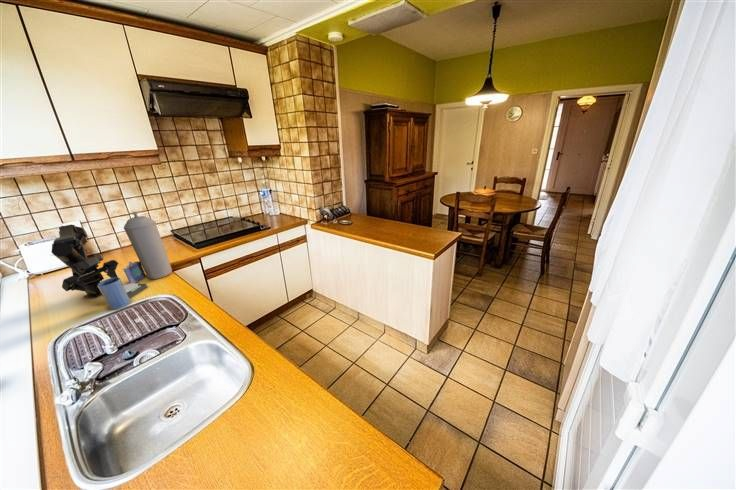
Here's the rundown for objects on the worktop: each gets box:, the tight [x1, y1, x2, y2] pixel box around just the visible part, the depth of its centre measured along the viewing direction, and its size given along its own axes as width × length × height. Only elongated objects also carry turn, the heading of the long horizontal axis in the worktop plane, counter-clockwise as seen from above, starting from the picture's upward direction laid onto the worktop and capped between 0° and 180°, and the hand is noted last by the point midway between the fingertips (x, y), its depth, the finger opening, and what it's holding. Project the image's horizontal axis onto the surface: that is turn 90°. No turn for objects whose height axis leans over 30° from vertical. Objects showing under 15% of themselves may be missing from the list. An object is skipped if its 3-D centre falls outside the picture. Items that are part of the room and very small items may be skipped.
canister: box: [123, 211, 173, 280], centre depth 136 cm, size 13×13×35 cm
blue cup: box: [97, 276, 132, 311], centre depth 116 cm, size 7×7×12 cm
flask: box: [123, 260, 147, 284], centre depth 137 cm, size 9×3×11 cm, turn 179°
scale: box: [123, 282, 148, 299], centre depth 127 cm, size 11×10×3 cm
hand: (108, 287), depth 115 cm, fingers open, 9 cm apart
